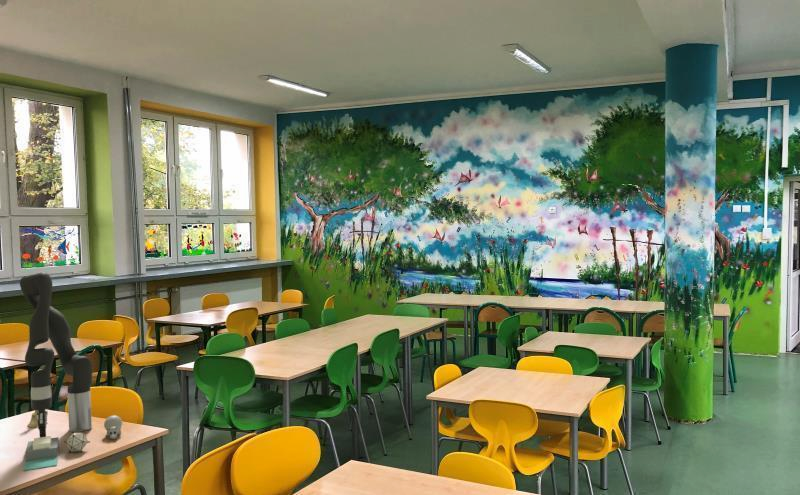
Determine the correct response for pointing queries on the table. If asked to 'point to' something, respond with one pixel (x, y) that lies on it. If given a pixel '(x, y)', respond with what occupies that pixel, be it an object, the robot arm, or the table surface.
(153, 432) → the table surface
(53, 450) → the gray board
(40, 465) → the teal mat
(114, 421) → the round bodied animal figurine
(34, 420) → the hand bell
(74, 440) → the game die
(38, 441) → the ivory tile
